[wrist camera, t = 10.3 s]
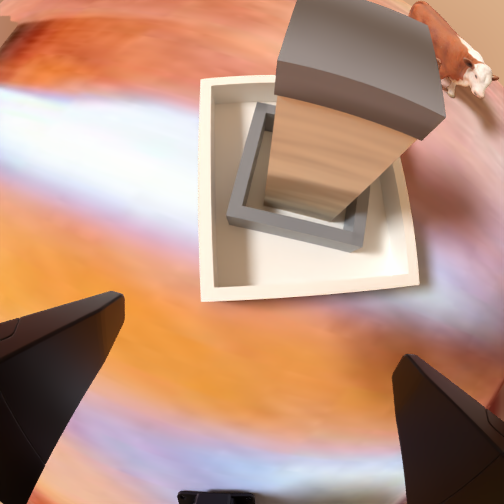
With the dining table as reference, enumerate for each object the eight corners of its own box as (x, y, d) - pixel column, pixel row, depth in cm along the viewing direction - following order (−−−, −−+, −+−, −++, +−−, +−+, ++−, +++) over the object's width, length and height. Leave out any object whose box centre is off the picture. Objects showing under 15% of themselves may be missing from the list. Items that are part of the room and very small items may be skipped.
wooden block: (331, 223, 20) (445, 117, 6) (261, 206, 20) (277, 60, 7) (341, 161, 21) (427, 25, 7) (277, 144, 21) (302, -17, 7)
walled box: (396, 286, 21) (419, 284, 17) (209, 300, 21) (201, 301, 17) (365, 104, 23) (378, 82, 19) (206, 104, 23) (200, 79, 19)
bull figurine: (445, 125, 23) (489, 83, 15) (388, 34, 24) (411, -13, 16) (470, 124, 23) (512, 88, 15) (415, 37, 25) (439, -5, 17)
